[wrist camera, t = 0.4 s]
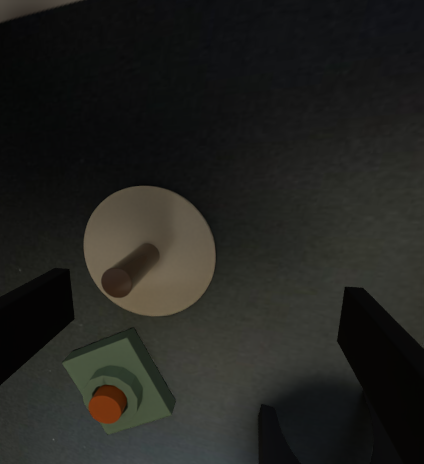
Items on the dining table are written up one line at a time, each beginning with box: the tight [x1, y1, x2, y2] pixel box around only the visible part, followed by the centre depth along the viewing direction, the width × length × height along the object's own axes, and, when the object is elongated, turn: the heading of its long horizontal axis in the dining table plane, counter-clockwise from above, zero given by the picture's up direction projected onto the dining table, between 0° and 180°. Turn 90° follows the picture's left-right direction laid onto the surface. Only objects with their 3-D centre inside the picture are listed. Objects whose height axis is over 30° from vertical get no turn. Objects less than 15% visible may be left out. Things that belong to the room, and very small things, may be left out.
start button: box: [89, 385, 127, 424], centre depth 33 cm, size 4×4×2 cm
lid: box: [84, 186, 216, 316], centre depth 28 cm, size 16×16×9 cm
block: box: [62, 328, 176, 435], centre depth 35 cm, size 12×10×4 cm
